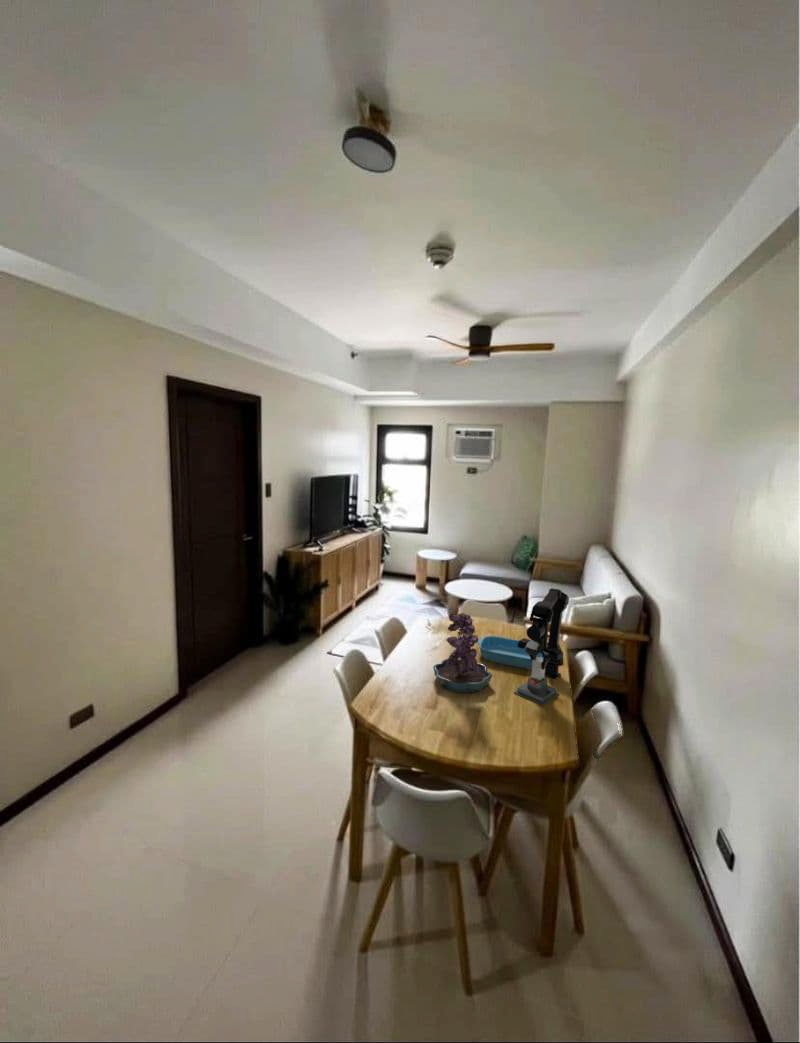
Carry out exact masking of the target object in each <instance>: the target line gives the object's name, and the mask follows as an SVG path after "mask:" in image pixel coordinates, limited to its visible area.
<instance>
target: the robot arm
mask: <svg viewBox="0 0 800 1043" xmlns="http://www.w3.org/2000/svg"><path fill="white" fill-rule="evenodd" d="M569 602H570V597H569V596H568V594H566V593H565V592H563V591H562V590H561V589H558V588H549V590H548V593H547V594H546V595H545V597H544V598H543V599H542V600H540V601H537V602H536V603H535V604H534V605H533V606H532V609H531V613H530V616H529V619H528V620H529V621H530V622H532V624H531V625H530V626H529V627H528V628H527V630H526V635H527V637H528V638H521V639H518V640H519V641H518V643H517V647H519V648H522V649H524V648H525V646H526V649H525V651H526V652H527V653H528V654H529V655H530V658H531V661H532V660H533V659H534V658H536V655H537V654H538V653H541V654H542V659H543V664H542V670H544V668H545V675H544V676H546V677H548V678H551V679H557V678H559V677H560V676H561V675H562V674H561V672H559V669H560V668H559V667H561V666H564V651H563V650H562V647H561V645H560V637H561V636H560V635H561V625H562V618H563V613H564V611H565V610H566V609H567V606H568V605H569ZM549 624H550V627H549Z"/></svg>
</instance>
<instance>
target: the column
mask: <svg viewBox="0 0 800 1043" xmlns="http://www.w3.org/2000/svg"><path fill="white" fill-rule="evenodd" d="M542 664H543V659H541V658H538V657H536V658H534V659H533V660H532V669H531V673H530V674H531V675H530V677H531V679H533V680H536V681H538V682H541V681H543V680H544V679H545V678H546V677H545V676H546V675H545V671H546V667H545V668H544V670H542Z"/></svg>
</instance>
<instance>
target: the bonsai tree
mask: <svg viewBox="0 0 800 1043" xmlns="http://www.w3.org/2000/svg"><path fill="white" fill-rule="evenodd" d="M448 620H449V621H450V622H452V623H450V624H449V626H447V630H448V631H450V632H451V633H453V632H456V631H457V636H448V637H447V638H446V639H445V640H446V642H447V643H448V644H449V645H450V646H451V647H452V648H454V650H453V651H451V652H450V655H448V658H446V659H445V658H444V659H443V660H441V662H440V663H436V664H434V665H433V666H432V668H433V671H434V675H435V678H436V680H437V682H438V684H439V685H441V686H442V687H444V688H446V689H447V690H449V691H453V692H457V693H475V692H478V691H480V690H482V689H483V688H484V687H485V686H486V685H488V684H490V682H491V680H492V677H493V675H492V673H491V672H489V671H488V667H487V665H486V664H484V663H483V664H482V663H480V662H478V659H477V658H476V657H477V653H478V650H477V649H476V648H474V647H475V644H477V642H478V640H479V637H478V635H476V634H474V633H475V632H476V631H475V630H476V629H475V628H476V627H475V625H473V622H474V619H473V618H472V617H471V615H470V614H466V613H465V612H460V613H459V614H456V615H453V614H452V613H449V614H448Z"/></svg>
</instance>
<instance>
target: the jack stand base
mask: <svg viewBox="0 0 800 1043" xmlns="http://www.w3.org/2000/svg"><path fill="white" fill-rule="evenodd" d="M513 694H515V695H517V696H520V697H522V698H525V699H527V700H529V701H531V702H534V703H536V704H538V705H541V706H547V705H548V704H549V703H550V702H552V701H553V700H554V699H555V698H556V697H558V696H559V695H560V692H557V688H555V687H553V686H551V685H548V678H547V677H545V679H544V680H543V681H541V682H538V681H536V680H533V679H531V676H529V677H528V678H527V681H526V682H524V683H522V684H521V685H520V686H518V687H517V689H516V690H515V691H514V692H513Z"/></svg>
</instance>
